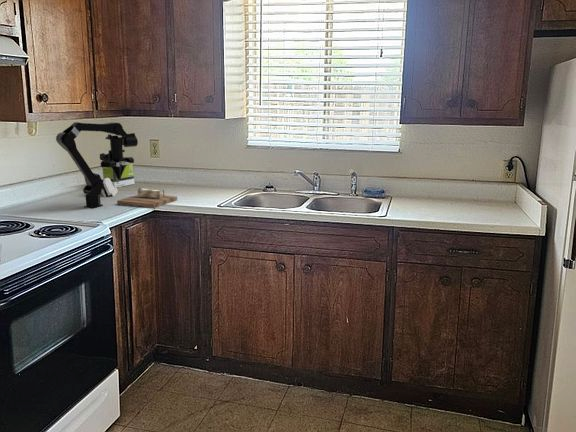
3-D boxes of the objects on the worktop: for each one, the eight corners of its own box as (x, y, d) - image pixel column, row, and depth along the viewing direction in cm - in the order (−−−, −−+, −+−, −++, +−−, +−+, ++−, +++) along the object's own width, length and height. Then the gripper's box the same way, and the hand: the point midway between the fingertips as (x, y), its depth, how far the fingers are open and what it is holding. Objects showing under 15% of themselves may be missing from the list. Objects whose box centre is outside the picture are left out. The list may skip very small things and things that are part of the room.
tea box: (124, 182, 331) (122, 158, 327) (135, 184, 325) (133, 160, 322) (103, 186, 319) (101, 161, 315) (114, 188, 313) (112, 163, 310)
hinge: (113, 196, 289) (105, 179, 286) (105, 199, 288) (97, 182, 286) (118, 190, 305) (110, 174, 302) (110, 194, 305) (102, 177, 302)
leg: (137, 196, 277) (137, 188, 276) (141, 195, 280) (140, 187, 279) (159, 198, 273) (159, 190, 272) (163, 197, 276) (162, 189, 275)
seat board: (154, 208, 261) (153, 196, 260) (117, 204, 269) (116, 193, 268) (177, 200, 279) (176, 189, 278) (142, 197, 287) (141, 186, 286)
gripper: (116, 145, 279) (118, 175, 283) (90, 149, 262) (93, 181, 266) (133, 146, 275) (135, 176, 279) (108, 150, 258) (111, 182, 262)
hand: (119, 179), depth 271 cm, fingers closed
